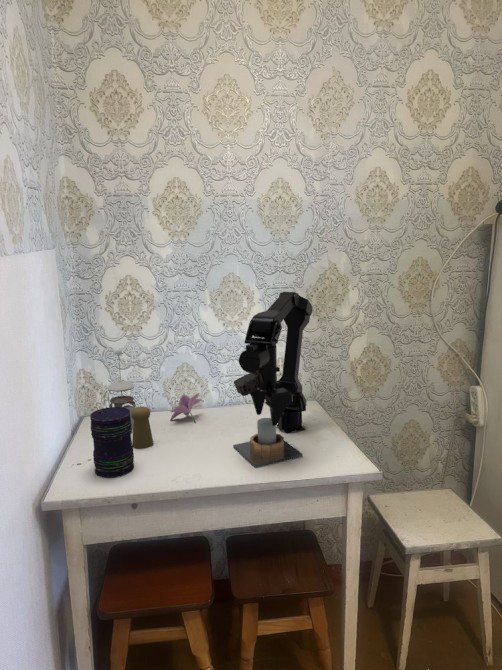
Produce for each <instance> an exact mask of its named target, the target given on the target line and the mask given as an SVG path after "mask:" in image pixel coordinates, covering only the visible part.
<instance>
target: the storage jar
mask: <svg viewBox="0 0 502 670" xmlns="http://www.w3.org/2000/svg"><path fill="white" fill-rule="evenodd" d="M89 417H90V432H91V433H90V434H91V438H92V439H93V440H92V441H93V453H92V456H93V464H94V473H95V475H96V476H97V477H98V478H104V479H114V478H120V477H123V476H126V475H128V474H131V472H133V470H134V469H135V464H134V462H135V461H134V459H135V456H134V455H135V453H134V448H133V446H132V434H133V433H132V428H131V426H132V424H131V417H130V410H129V409H127V408H123V406H122V407H114V406H112V407H109V406H108V407H107V408H106V407H104V408H100V409H97V410H95V411H93V412H91V413H90V415H89ZM131 433H132V434H131Z"/></svg>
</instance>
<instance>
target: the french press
mask: <svg viewBox="0 0 502 670" xmlns="http://www.w3.org/2000/svg"><path fill="white" fill-rule="evenodd" d="M122 354H123V353H122V351H121V349H118V350H117V349H116V350H115V355H117V356H118V358H117V359H120V355H122ZM118 368H119V369H118V370H119V373H121V363H120V360H118ZM135 386H136V385H135V384H134V383H133V382H131V381H127V380H122V378H121V374H119V380H118V381H114V382H112V383H111V384H109V385H108V386H107V387H106V389H107V390H106V392H104V395H103V403H104V406H105V408H109V407H123V408H127V409H129V410H130V417H131V424H132V426H131V428H132V433H131V435H133V424H134V420H133V418H132V416H131V413H132V410H133V409H134V408H136V401H134V399H135V397H133V396H131V395H123V392H127V391H131V390H133V389H134V388H135ZM117 392H120V395H119V396H118V395H117V396H114V397H111V398H110V395H114V393H117ZM106 395H107V401H108V403H109V405H108V407H107V405H106V399H105V398H106ZM126 404H127V405H126ZM129 404H130V405H129ZM113 405H114V406H113Z"/></svg>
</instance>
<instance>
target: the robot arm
mask: <svg viewBox="0 0 502 670" xmlns="http://www.w3.org/2000/svg"><path fill="white" fill-rule="evenodd" d="M312 313H313V304H312V303H311V301H309V299H307V298H305V297H303V296H301V295H299V293H298V292H295V291H282V292H279V295H278V297H277V299H276V300H275V301H274V302H273V303H272V304H271V305H270V306H269V308H268V309H266V310H263V311H262V312H261V311H260V312H258V313H256V314H254V315H253V316H252V318H251V319H250V320H249V324H248V328H247V331H246V335H245V339H244V344H246V345H245V350H243V351H242V352H241V353H240V355H239V357H238V364H239V367H240V368H241V369H242V370H243V371H244V372H246V373H247V374H245V375H243V376H241V377H239V378H236V379H235V380H234V381H233V384H234V386H235V390H236V392H237V393H238V394H240V395H241V396H242V397H246V396H249V395H250V397H251V400H252V403H253V406H254V409H255V413H256V415H257V416H260V415H261V414H262V413H263V408H264V405H267V407H269V412H270V418H271V421H272V425H273V426H276V428H278V429H279V430H281V431H282V432H284V433H285V434H289V433H293V432H299V431H303V430H305V426H303V412H306V411H307V402H308V401H307V400H306V398H305V395H304V393H303V385H302V384H301V381H300V379H299V371H300V362H301V360H300V359H301V352H302V344H303V335H304V334H303V333H304V329H305V328H306V327H307V326H308V325H309V323H310V320H311V316H312V315H313V314H312ZM283 321H284V323H285V326H286V327H287V331H286V339H285V349H284V355H283V356H284V357H283V367H282V373H281V374H282V375H281V377H280V378H279V379H278V378H277V377H278V374H277V373H279V372H280V370H281V369H280V367H279V366H277V364H278V363H277V362H278V361H277V358H278V357H277V344H278V343H279V338H280V335H281V332H282V329H283V326H282V322H283ZM277 379H278V380H277Z"/></svg>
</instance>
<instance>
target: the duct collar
mask: <svg viewBox="0 0 502 670" xmlns="http://www.w3.org/2000/svg"><path fill="white" fill-rule="evenodd" d="M284 438H285V437H284V436H283V435H281V434H279V433H276V443H275V444H271V445H262V444H259V443H258V433H255V434H253V435H251V436H250V438H249V441H245V442H242V443H236V444H235V443H234V444H233V445H232V446H233V447H232V448H233V449H234V450H235V451H236V452H237V453H238V452H239V453H238V454H240V456H242V458H244V459H245V460H246V461H247V462H248V463H249V464H250V465H251V466H252V467H254V469H256V468H261V467H265V466H270V465H273V464H279V463H283V462H286V461H291V460H295V459H299V458H303V457H304V454H303V453H302V452H301V451H299V450H298V449H297V448H295V447H294V446H293V445H291V444H290V443H288V442H287V441H286V440H285V439H284Z"/></svg>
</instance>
